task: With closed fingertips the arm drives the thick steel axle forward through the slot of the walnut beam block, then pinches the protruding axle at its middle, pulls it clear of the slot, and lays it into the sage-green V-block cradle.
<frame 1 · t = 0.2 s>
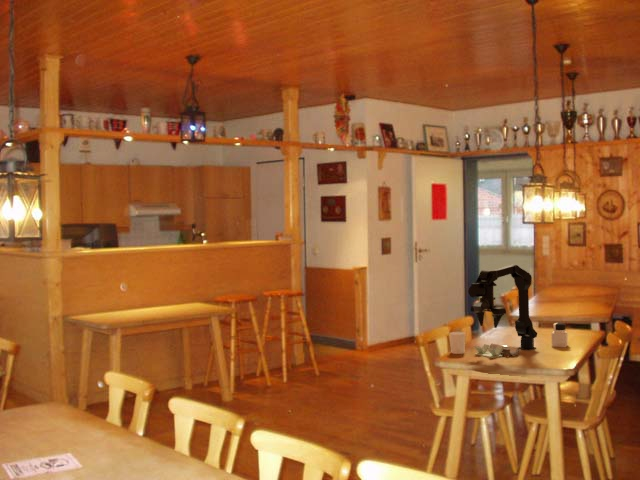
hand: (488, 326, 377), 14 cm above the table, tool pointing down, fingers open, 9 cm apart
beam: (506, 354, 379), on the table
cradle: (488, 355, 378), on the table
white cup: (457, 353, 387), on the table
medicine bottle: (559, 346, 398), on the table
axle: (503, 354, 381), on the table
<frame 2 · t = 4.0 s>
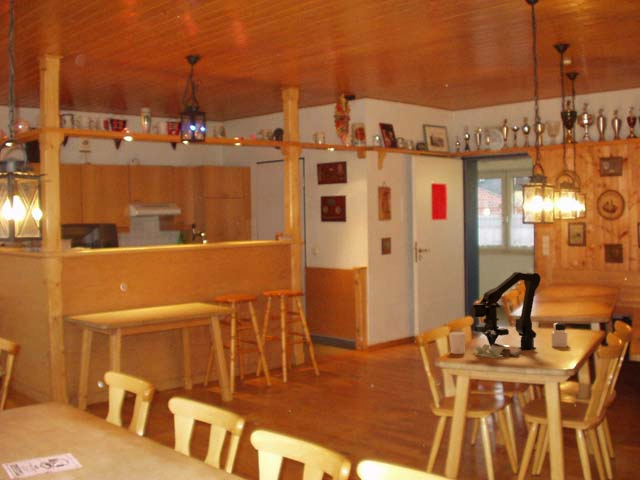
hand: (491, 347, 388), 2 cm above the table, tool pointing down, fingers closed
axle: (504, 354, 380), on the table, tilted 6°, touching gripper
everything else where it was.
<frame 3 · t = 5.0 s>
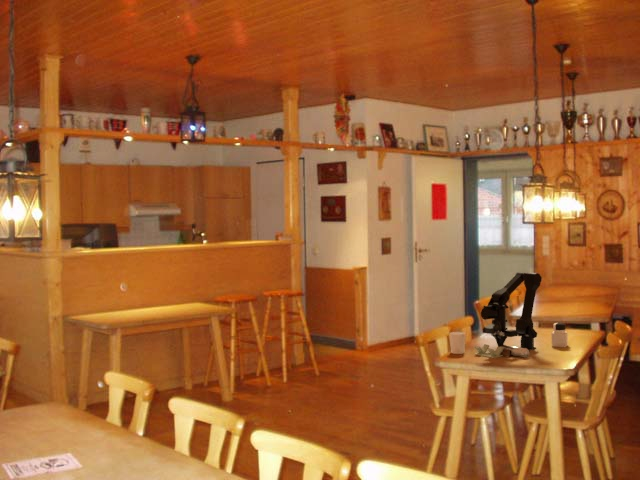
hand: (500, 348, 383), 2 cm above the table, tool pointing down, fingers closed
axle: (513, 355, 375), on the table, tilted 6°, touching gripper
everything else where it was.
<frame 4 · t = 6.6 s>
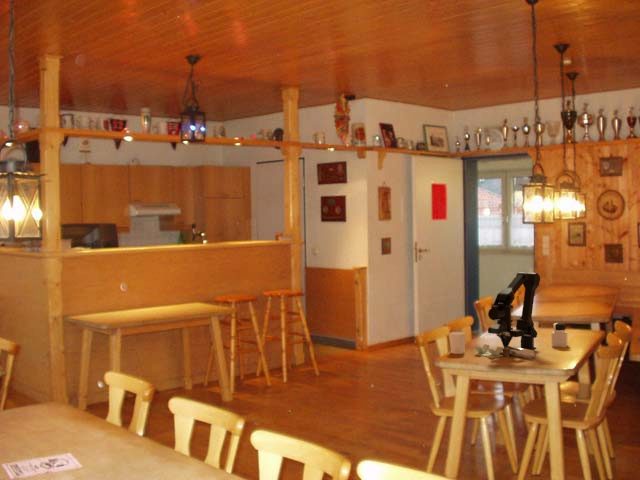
hand: (505, 348, 380), 3 cm above the table, tool pointing down, fingers closed
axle: (519, 357, 373), on the table
everything else where it was.
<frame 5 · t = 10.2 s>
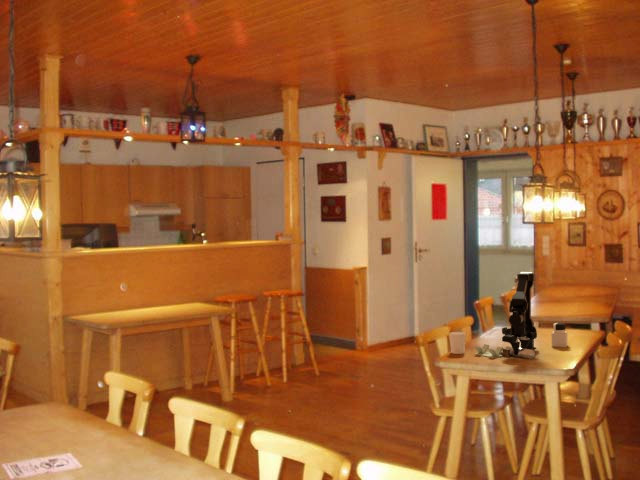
hand: (519, 354, 372), 1 cm above the table, tool pointing down, fingers closed on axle, 4 cm apart
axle: (519, 356, 372), on the table, touching gripper
everything else where it was.
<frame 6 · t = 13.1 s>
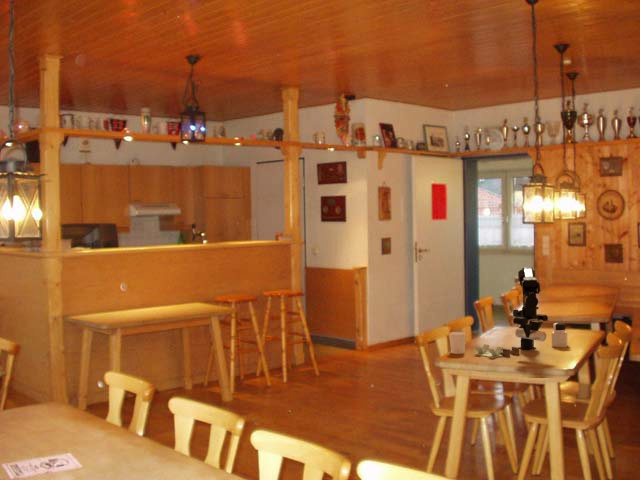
hand: (530, 337, 366), 11 cm above the table, tool pointing down, fingers closed on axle, 4 cm apart
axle: (530, 339, 366), point 10 cm above the table, touching gripper
everything else where it was.
when the fingers open (4 cm above the table, at t = 16.1 s): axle drops 1 cm, resting on cradle.
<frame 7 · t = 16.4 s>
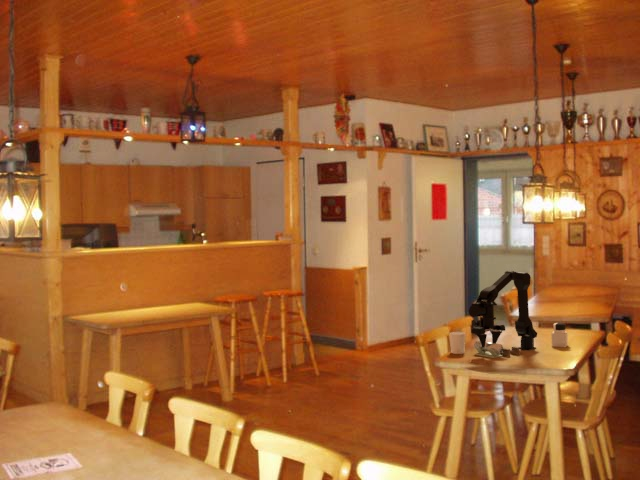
hand: (488, 346, 378), 4 cm above the table, tool pointing down, fingers open, 7 cm apart
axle: (488, 351, 378), point 2 cm above the table, touching cradle
everything else where it was.
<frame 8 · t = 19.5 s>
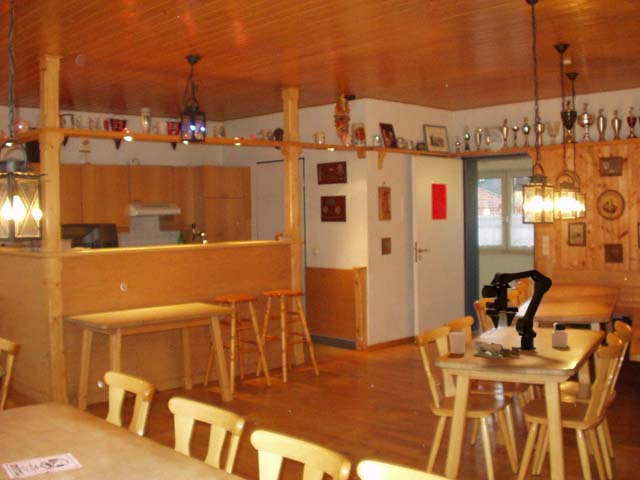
hand: (502, 327, 387), 12 cm above the table, tool pointing down, fingers open, 9 cm apart
nothing on the table moved.
at the end: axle inside the target area (0.1 cm from its centre), point 2.0 cm above the table; the gripper is holding nothing; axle touching cradle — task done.
